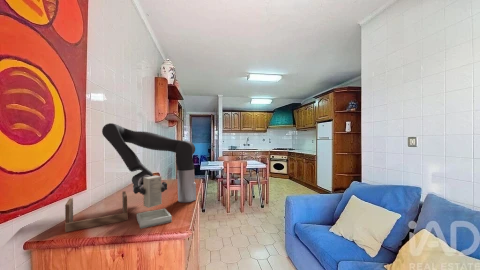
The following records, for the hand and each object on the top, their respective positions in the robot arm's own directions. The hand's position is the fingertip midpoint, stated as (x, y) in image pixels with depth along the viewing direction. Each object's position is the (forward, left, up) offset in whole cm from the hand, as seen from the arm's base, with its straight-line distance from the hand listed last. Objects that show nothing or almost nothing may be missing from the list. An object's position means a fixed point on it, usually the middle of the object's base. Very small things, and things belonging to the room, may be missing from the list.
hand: (153, 190), depth 91 cm
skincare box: (0, -2, -7) cm, 7 cm away
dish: (0, -2, -13) cm, 13 cm away
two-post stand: (+20, -15, -13) cm, 28 cm away
